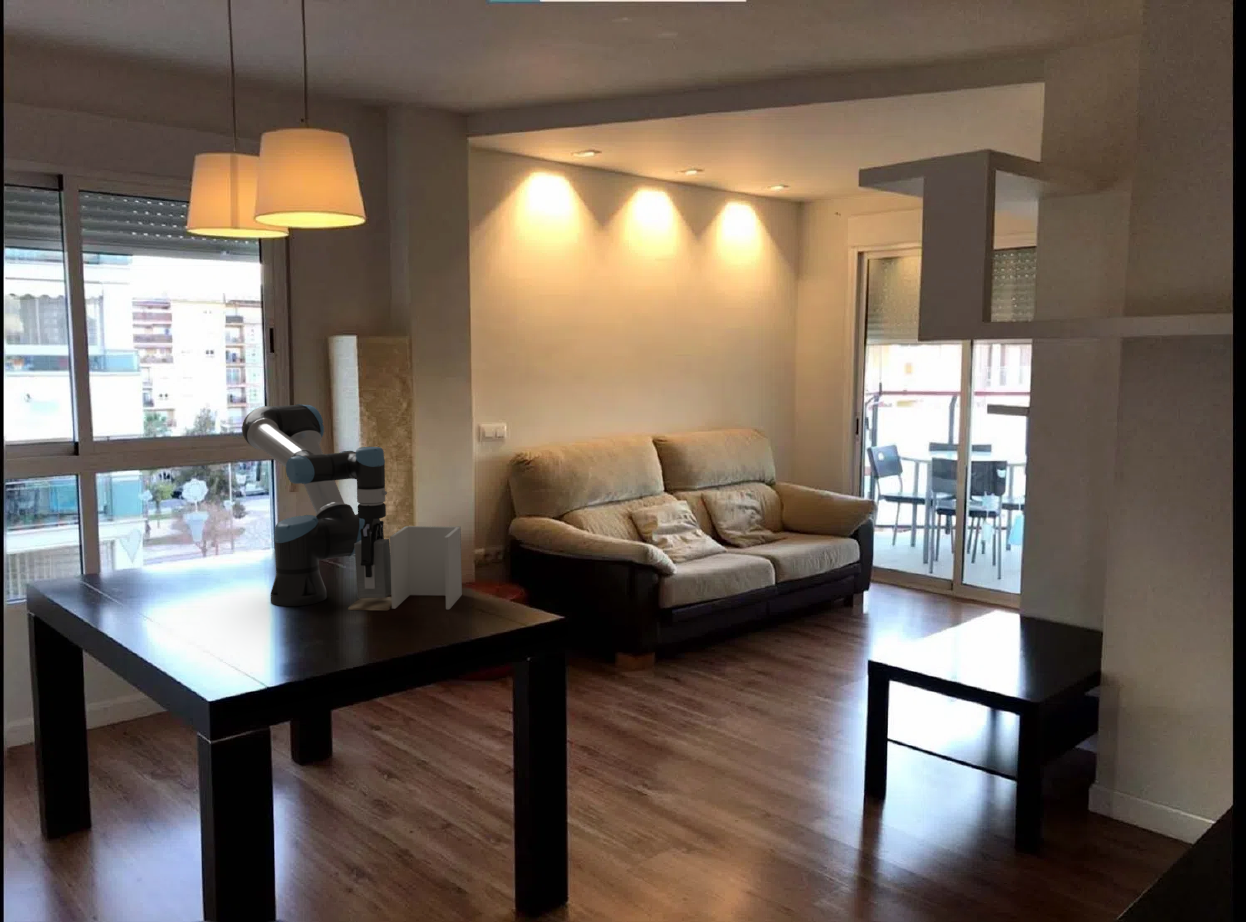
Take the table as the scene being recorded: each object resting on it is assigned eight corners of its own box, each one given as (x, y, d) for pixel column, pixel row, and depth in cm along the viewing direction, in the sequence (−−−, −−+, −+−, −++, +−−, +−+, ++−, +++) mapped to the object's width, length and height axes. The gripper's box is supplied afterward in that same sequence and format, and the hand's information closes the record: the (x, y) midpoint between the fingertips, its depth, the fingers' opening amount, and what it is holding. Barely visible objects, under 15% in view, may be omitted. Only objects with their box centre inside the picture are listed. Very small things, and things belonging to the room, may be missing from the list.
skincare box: (393, 594, 283) (392, 538, 282) (384, 599, 276) (383, 542, 275) (363, 593, 284) (362, 537, 283) (354, 598, 277) (353, 541, 275)
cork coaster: (348, 609, 275) (348, 607, 275) (361, 598, 287) (361, 596, 286) (388, 610, 274) (387, 608, 274) (399, 599, 286) (399, 597, 286)
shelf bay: (391, 608, 276) (389, 536, 274) (407, 594, 292) (405, 526, 290) (449, 609, 275) (448, 537, 273) (461, 594, 291) (460, 526, 289)
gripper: (374, 509, 267) (377, 593, 270) (394, 497, 286) (397, 577, 289) (346, 508, 268) (349, 593, 270) (368, 497, 287) (371, 576, 290)
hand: (374, 585), depth 280 cm, fingers closed on skincare box, 7 cm apart
